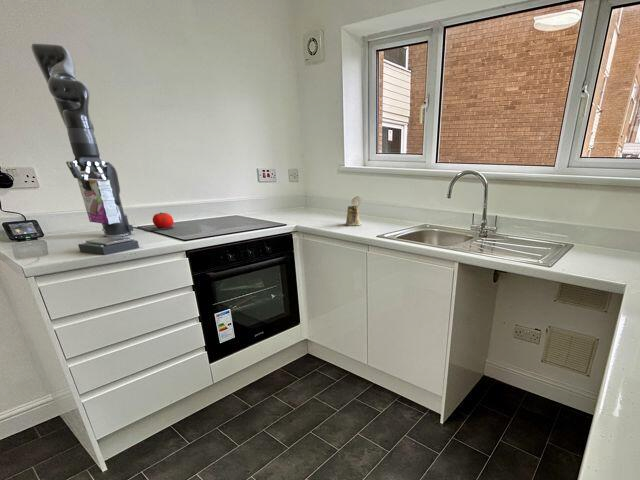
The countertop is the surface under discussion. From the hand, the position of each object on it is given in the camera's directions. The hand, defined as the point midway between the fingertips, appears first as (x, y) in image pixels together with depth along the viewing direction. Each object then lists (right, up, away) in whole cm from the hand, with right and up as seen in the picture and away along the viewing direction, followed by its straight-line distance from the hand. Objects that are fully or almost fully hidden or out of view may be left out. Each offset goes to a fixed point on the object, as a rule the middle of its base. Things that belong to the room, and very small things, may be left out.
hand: (96, 190), depth 134 cm
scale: (-1, -22, +8) cm, 23 cm away
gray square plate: (0, -19, +7) cm, 20 cm away
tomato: (-9, -4, +53) cm, 54 cm away
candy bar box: (-1, -12, +5) cm, 13 cm away
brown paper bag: (+89, +4, +82) cm, 121 cm away
